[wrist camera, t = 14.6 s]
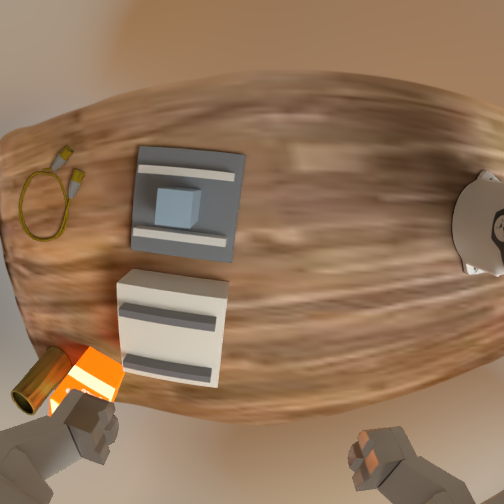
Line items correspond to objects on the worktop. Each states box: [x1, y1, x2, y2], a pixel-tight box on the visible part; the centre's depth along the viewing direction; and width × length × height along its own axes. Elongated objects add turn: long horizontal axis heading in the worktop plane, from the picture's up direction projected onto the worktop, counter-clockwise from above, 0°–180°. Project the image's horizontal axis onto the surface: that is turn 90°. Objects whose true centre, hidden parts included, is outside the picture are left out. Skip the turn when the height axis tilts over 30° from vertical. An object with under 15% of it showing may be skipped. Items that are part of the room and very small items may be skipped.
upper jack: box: [117, 269, 229, 388], centre depth 37 cm, size 14×14×8 cm
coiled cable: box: [19, 146, 84, 242], centre depth 35 cm, size 12×16×2 cm
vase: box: [11, 347, 71, 415], centre depth 36 cm, size 6×6×14 cm
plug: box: [155, 187, 201, 229], centre depth 33 cm, size 4×4×6 cm
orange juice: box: [49, 347, 125, 417], centre depth 34 cm, size 8×9×20 cm
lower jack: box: [131, 146, 246, 263], centre depth 36 cm, size 14×14×3 cm
